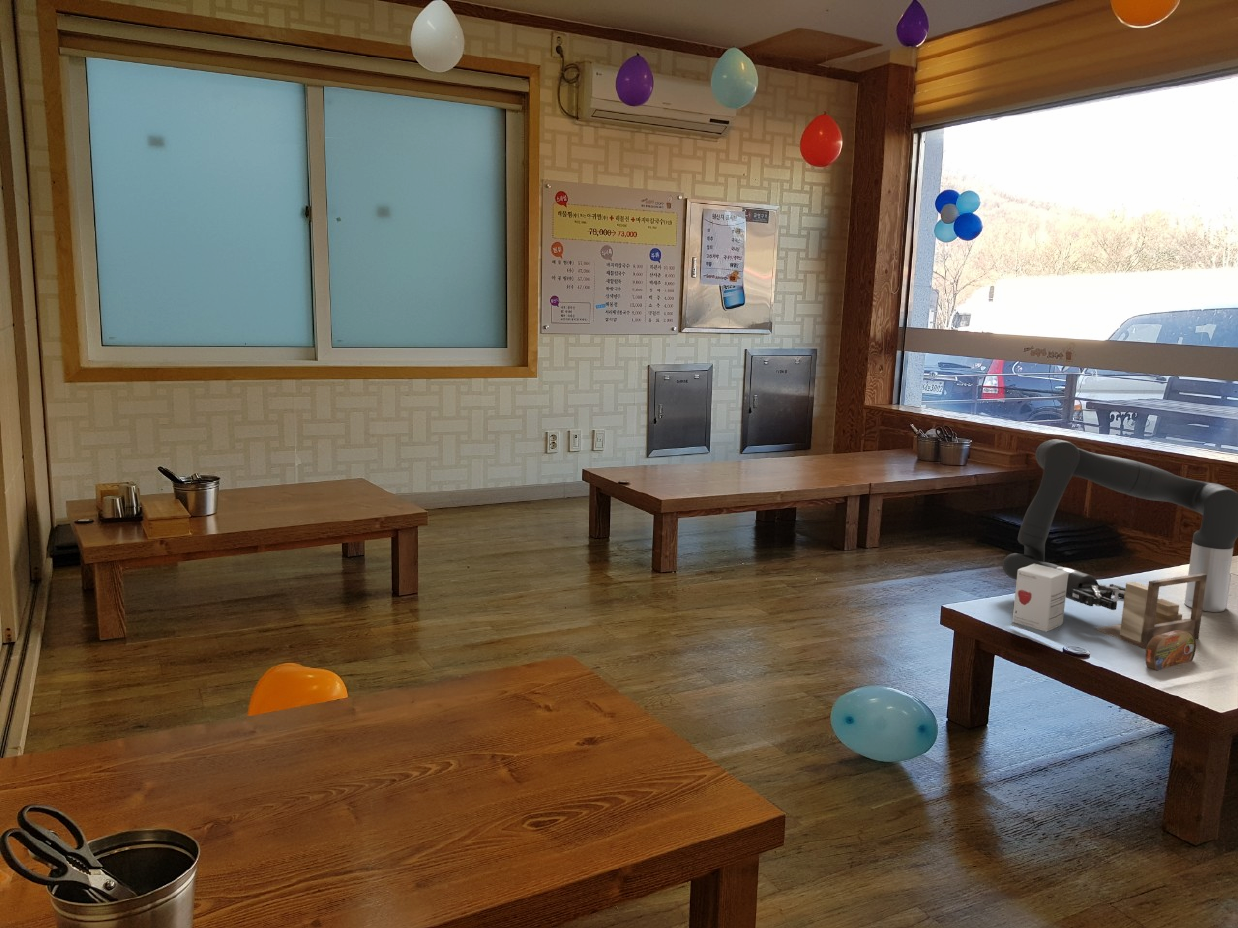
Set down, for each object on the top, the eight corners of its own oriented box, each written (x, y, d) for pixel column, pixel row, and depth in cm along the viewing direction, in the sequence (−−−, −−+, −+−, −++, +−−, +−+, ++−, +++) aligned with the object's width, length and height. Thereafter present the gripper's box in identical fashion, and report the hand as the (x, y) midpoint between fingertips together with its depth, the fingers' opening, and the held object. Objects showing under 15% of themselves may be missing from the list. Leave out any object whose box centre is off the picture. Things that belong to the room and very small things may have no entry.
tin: (1154, 677, 196) (1158, 640, 195) (1140, 672, 199) (1144, 635, 198) (1195, 665, 203) (1199, 630, 202) (1181, 660, 206) (1185, 625, 205)
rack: (1144, 624, 229) (1152, 558, 226) (1197, 643, 216) (1207, 574, 213) (1093, 633, 222) (1100, 565, 219) (1144, 653, 210) (1153, 582, 207)
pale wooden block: (1128, 632, 219) (1134, 581, 217) (1149, 640, 214) (1155, 588, 212) (1119, 634, 218) (1126, 583, 216) (1140, 642, 213) (1147, 589, 211)
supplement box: (1010, 626, 227) (1015, 568, 224) (1027, 618, 232) (1033, 562, 229) (1046, 636, 220) (1052, 577, 217) (1063, 628, 225) (1069, 571, 223)
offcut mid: (1157, 616, 224) (1159, 607, 224) (1181, 623, 219) (1182, 614, 219) (1148, 619, 222) (1149, 610, 222) (1172, 626, 217) (1173, 617, 217)
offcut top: (1160, 607, 224) (1161, 598, 223) (1178, 614, 219) (1179, 605, 218) (1149, 609, 223) (1150, 599, 222) (1167, 615, 218) (1168, 606, 217)
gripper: (1053, 573, 229) (1108, 592, 214) (1094, 567, 234) (1151, 586, 219) (1050, 601, 230) (1105, 622, 215) (1091, 595, 235) (1147, 615, 221)
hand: (1128, 604), depth 217 cm, fingers open, 8 cm apart
